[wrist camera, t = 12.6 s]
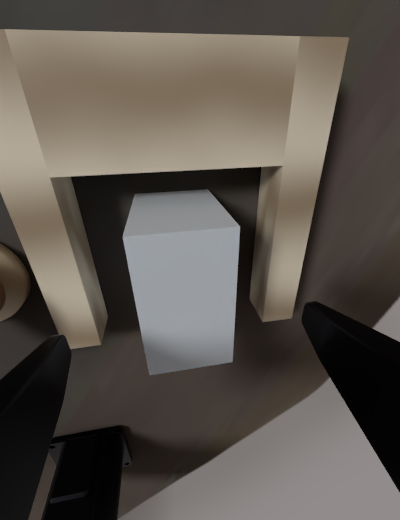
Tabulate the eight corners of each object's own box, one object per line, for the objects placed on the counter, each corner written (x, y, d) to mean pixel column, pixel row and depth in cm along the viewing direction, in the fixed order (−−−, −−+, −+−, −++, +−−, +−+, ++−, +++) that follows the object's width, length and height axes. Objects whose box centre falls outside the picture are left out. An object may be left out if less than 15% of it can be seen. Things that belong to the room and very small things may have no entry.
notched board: (275, 295, 18) (291, 318, 16) (77, 320, 16) (65, 349, 14) (312, 54, 11) (349, 37, 9) (-18, 50, 10) (-68, 27, 7)
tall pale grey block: (208, 290, 17) (232, 362, 12) (150, 297, 17) (149, 375, 11) (207, 189, 14) (240, 226, 9) (135, 193, 13) (122, 236, 8)
